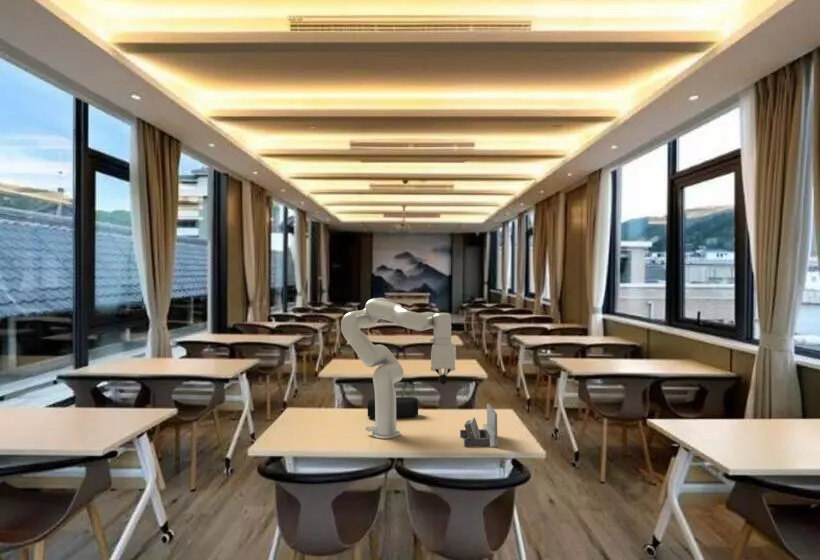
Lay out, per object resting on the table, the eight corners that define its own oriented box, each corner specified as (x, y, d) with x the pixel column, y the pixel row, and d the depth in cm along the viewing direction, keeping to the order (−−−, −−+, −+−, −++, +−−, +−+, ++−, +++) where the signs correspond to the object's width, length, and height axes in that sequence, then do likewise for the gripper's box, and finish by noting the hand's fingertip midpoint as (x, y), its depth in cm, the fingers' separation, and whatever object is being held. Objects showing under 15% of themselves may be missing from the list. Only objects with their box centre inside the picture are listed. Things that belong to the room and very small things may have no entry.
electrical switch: (477, 443, 241) (475, 421, 241) (466, 444, 242) (463, 422, 243) (480, 437, 250) (478, 416, 250) (469, 437, 251) (467, 417, 252)
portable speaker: (367, 420, 282) (367, 400, 282) (367, 415, 292) (367, 396, 292) (418, 418, 284) (418, 399, 284) (416, 414, 294) (416, 394, 294)
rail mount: (465, 448, 235) (464, 414, 234) (459, 435, 254) (459, 404, 253) (497, 447, 235) (497, 413, 235) (489, 434, 254) (489, 403, 254)
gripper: (425, 343, 239) (426, 386, 240) (460, 342, 240) (461, 385, 240) (424, 340, 247) (425, 382, 247) (458, 340, 247) (459, 382, 248)
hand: (443, 384), depth 244 cm, fingers closed
